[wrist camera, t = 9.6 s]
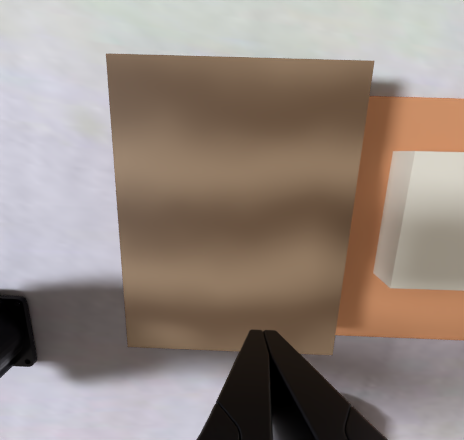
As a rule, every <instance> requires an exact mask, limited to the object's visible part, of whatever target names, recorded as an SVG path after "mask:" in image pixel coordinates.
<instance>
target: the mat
mask: <svg viewBox="0 0 464 440" xmlns="http://www.w3.org/2000/svg"><path fill="white" fill-rule="evenodd" d="M393 151H434V152H464V99H455V98H421V97H386V96H369V102H368V109H367V116H366V123H365V130H364V137H363V144H362V151H361V158H360V165H359V172H358V179H357V186H356V193H355V200H354V207H353V214H352V221H351V228H350V235H349V242H348V249H347V256H346V263H345V270H344V277H343V284H342V291H341V298H340V305H339V312H338V319H337V326H336V333H335V335H344V336H369V337H394V338H419V339H444V340H464V291H461V290H430V289H398V288H389V287H388V286H387V285H386V284H385V283H384V282H383V281H381V280H380V279H379V278H378V277H377V276H376V275H375V274H374V273H373V270H374V264H375V258H376V252H377V245H378V239H379V233H380V227H381V221H382V215H383V209H384V203H385V197H386V191H387V184H388V178H389V172H390V166H391V160H392V154H393Z"/></svg>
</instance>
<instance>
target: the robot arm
mask: <svg viewBox="0 0 464 440" xmlns="http://www.w3.org/2000/svg"><path fill="white" fill-rule="evenodd" d="M18 302H19V303H20V304H19V303H18ZM36 361H37V357H36V351H35V345H34V339H33V334H32V328H31V322H30V316H29V310H28V304H27V301H26V299H25V298H24V297H21V296H1V295H0V378H1V377H2V376H3V375H4V374H5V373H6V372H7V371H8V370H9V369H10V368H11V367H12V366H24V367H30V366H32V365H33V364H34V363H35V362H36ZM197 440H388V439H387V438H385V437H384V436H383V435H382V434H381V433H380V432H379V431H378V430H377V429H376V428H375V427H374V426H373V425H372V424H370V423H369V422H368V421H367V420H366V419H365V418H364V417H363V416H362V415H361V414H360V413H359V412H358V411H357V410H356V409H355V408H354V407H351V404H350V403H349V402H348V401H347V400H346V399H345V398H344V397H343V396H342V395H341V394H340V393H339V392H338V391H337V390H336V389H335V388H334V387H333V386H332V385H331V384H330V383H329V382H328V381H327V380H326V379H325V378H324V377H323V376H322V375H321V374H320V373H319V372H318V371H317V370H316V369H315V368H314V367H313V366H312V365H311V364H310V363H309V362H308V361H306V360H305V359H304V358H303V357H302V356H301V355H300V354H299V353H298V352H297V351H296V350H295V349H294V348H293V347H292V346H291V345H290V344H289V343H288V342H287V341H286V340H285V339H284V338H283V337H282V336H281V335H280V334H279V333H278V332H277V331H276V330H264V331H262V330H257V329H251V330H250V331H249V332H248V335H247V337H246V339H245V341H244V343H243V345H242V347H241V350H240V352H239V354H238V356H237V358H236V360H235V362H234V365H233V367H232V369H231V371H230V373H229V375H228V377H227V380H226V382H225V384H224V386H223V388H222V390H221V393H220V395H219V397H218V399H217V401H216V404H215V405H214V407H213V409H212V411H211V414H210V416H209V418H208V420H207V422H206V423H205V425H204V427H203V429H202V431H201V433H200V435H199V436H198V438H197Z"/></svg>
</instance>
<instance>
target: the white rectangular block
mask: <svg viewBox="0 0 464 440" xmlns="http://www.w3.org/2000/svg"><path fill="white" fill-rule="evenodd" d="M373 273H374V274H375V275H376V276H377V277H378V278H379V279H380V280H381V281H383V282H384V283H385V284H386V285H387V286H388V287H389V288H398V289H430V290H461V291H464V152H434V151H393V154H392V160H391V166H390V172H389V178H388V184H387V191H386V197H385V203H384V209H383V215H382V221H381V227H380V233H379V239H378V245H377V252H376V258H375V264H374V270H373Z"/></svg>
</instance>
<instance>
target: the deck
mask: <svg viewBox="0 0 464 440" xmlns="http://www.w3.org/2000/svg"><path fill="white" fill-rule="evenodd" d="M106 62H107V75H108V88H109V102H110V115H111V129H112V142H113V156H114V169H115V183H116V196H117V210H118V223H119V237H120V250H121V264H122V277H123V291H124V304H125V317H126V331H127V344H128V347H142V348H167V349H191V350H216V351H240V350H241V347H242V345H243V343H244V341H245V339H246V337H247V335H248V332H249V331H250V330H251V329H257V330H262V331H264V330H276V331H277V332H278V333H279V334H280V335H281V336H282V337H283V338H284V339H285V340H286V341H287V342H288V343H289V344H290V345H291V346H292V347H293V348H294V349H295V350H296V351H297V352H298V353H299V354H314V355H332V354H333V347H334V340H335V333H336V326H337V319H338V312H339V305H340V298H341V291H342V284H343V277H344V270H345V263H346V256H347V249H348V242H349V235H350V228H351V221H352V214H353V207H354V200H355V193H356V186H357V179H358V172H359V165H360V158H361V151H362V144H363V137H364V130H365V123H366V116H367V109H368V102H369V95H370V88H371V81H372V74H373V67H374V61H359V60H322V59H285V58H249V57H212V56H175V55H138V54H106Z"/></svg>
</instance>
